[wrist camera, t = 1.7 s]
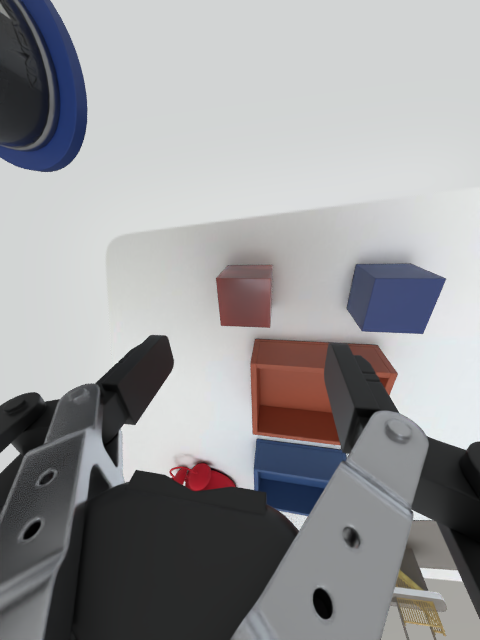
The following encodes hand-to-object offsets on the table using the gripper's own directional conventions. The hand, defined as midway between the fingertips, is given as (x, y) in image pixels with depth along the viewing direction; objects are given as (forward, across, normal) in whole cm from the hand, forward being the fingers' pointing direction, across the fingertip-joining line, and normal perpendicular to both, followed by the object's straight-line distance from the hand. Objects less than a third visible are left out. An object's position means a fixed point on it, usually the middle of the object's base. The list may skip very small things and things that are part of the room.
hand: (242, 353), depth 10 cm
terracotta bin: (+12, -6, +13) cm, 19 cm away
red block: (+12, +1, +1) cm, 12 cm away
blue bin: (+12, -5, +32) cm, 35 cm away
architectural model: (+13, -25, +56) cm, 63 cm away
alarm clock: (+13, +12, +40) cm, 44 cm away
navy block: (+12, -11, +1) cm, 16 cm away
